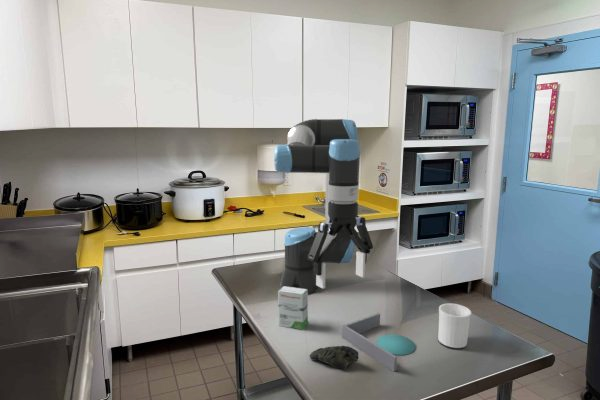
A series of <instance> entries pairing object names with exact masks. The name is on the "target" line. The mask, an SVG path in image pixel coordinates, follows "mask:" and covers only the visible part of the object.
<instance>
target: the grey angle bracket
mask: <svg viewBox="0 0 600 400" xmlns="http://www.w3.org/2000/svg"><path fill="white" fill-rule="evenodd" d="M380 325H381V313H379V312H377V313H375V314H371V315H368V316H366V317H363V318H361V319H357V320H355V321H352V322H349V323H346V324H343V325H342V334H341V339H343V340H345V341H346V342H348V343H350V345H352V346H353V347H355V348H357V349H358V350H360V351H361V352H363V353H365V354H366V355H367V356H369V357H370V358H371V359H374V360H375V361H377V362H378V363H380V364H381V365H382V366H384V367H386V368H387V369H388V370H389V369H390V371H392V372H396V371H397V362H398V360H397V358H398V357H397V355H393V354H391V353H390V352H388V351H387V350H385V349H383V348H382V347H380V346H378V345H377V343H376V342H373V341H372V340H370V339H369V338H367V337H366V336H364V335H362V334H361V333H363V332H366V331H369V330H372V329H374V328H376V327H379V326H380Z"/></svg>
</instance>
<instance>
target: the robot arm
mask: <svg viewBox="0 0 600 400" xmlns="http://www.w3.org/2000/svg"><path fill="white" fill-rule="evenodd" d="M286 140H287V144H286V143H285V144H278V145H276V146H275V147H274V152H273V153H274V155H273V157H274V158H273V159H274V160H273V162H274V168H275V171H276V172H278V173H286V174H290V173H293V174H294V173H295V174H296V173H299V174H301V173H306V174H307V173H309V174H310V173H311V174H312V173H313V174H314V173H315V174H325V198H324V199H325V200H324V201H325V202H324V203H325V209H324V213H325V214H324V219H325V220H324V222H321V221H320V222H318V228H317V231H316V229H315V228H314V227H309V226H302V227H296V228H292V229H290V230H288V231H287V232H285V234H284V235H285V236H284V242H283V243H284V244H283V245H284V269H283V272H282V275H281V278H280V282H279V286H280V289H281V288H282V287H284V286H286V287H294V288H301V289H307V290H308V295H309V294H313V293H315V292H317V291H318V290H319V288H321V289H325V288H326V267H327V266H326V265H327V263H328V264H338V265H339V264H348V263H350V262H351V261H352V259H353V256H354V252H355V247H356V248H357V249H358V251H356V253H355V254H356V256H355V258H356V259H355V275H356V276H359V277H360V278H365V276H366V264H367V261H368V260H367V257H368V256H367V255H368V254H370V253H371V250H373V249H374V245H373V241H372V239H371V236H370V234H369V230H368V228H367V225H366V218H365V217H363V216H361V215H360V216H359V215H358V213H359V203H358V202H357V201H358V200H359V189H360V188H359V187H360V185H359V183H360V182H359V175H360V158H361V157H360V156H361V150H360V149H361V144H360V141H359V136H358V128H357V124H356V122H355V121H354V120H352V119H346V118H345V119H344V118H341V119H340V118H338V119H337V118H336V119H335V118H334V119H329V118H328V119H326V118H325V119H323V118H322V119H321V118H320V119H317V118H313V119H312V118H311V119H307V120H303V121H302V122H301V121H300V122H299V123H297V124H295V125H294V126H293V127H292V128H291V129H289V132H288V133H287V139H286ZM356 229H357V230H356Z"/></svg>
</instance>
